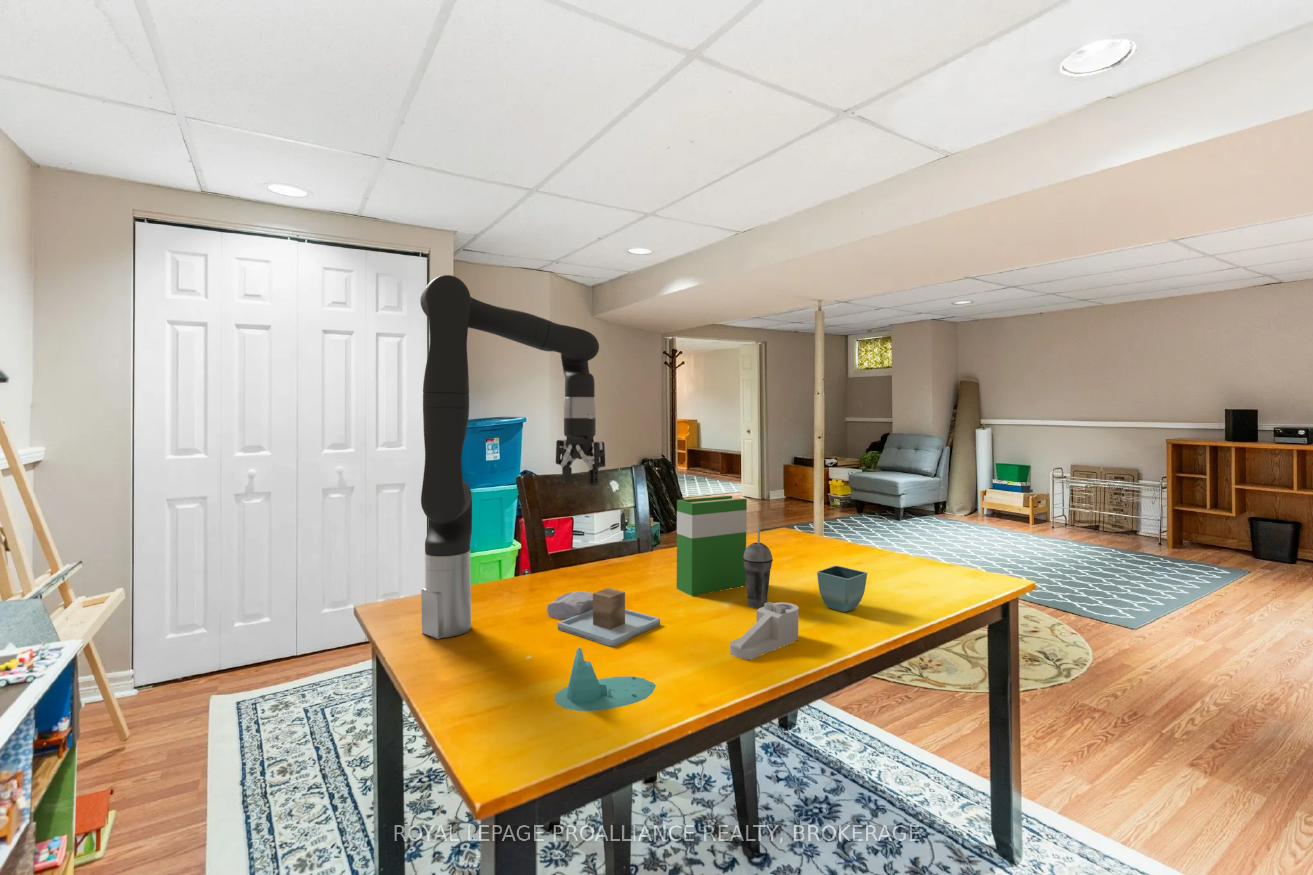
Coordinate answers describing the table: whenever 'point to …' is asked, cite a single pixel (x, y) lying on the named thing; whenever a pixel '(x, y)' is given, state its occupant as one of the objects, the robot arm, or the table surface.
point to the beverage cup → (757, 572)
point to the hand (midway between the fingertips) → (579, 484)
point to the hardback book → (711, 544)
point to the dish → (615, 636)
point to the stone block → (570, 605)
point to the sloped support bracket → (768, 631)
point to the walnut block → (608, 608)
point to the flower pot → (841, 587)
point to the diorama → (600, 689)
